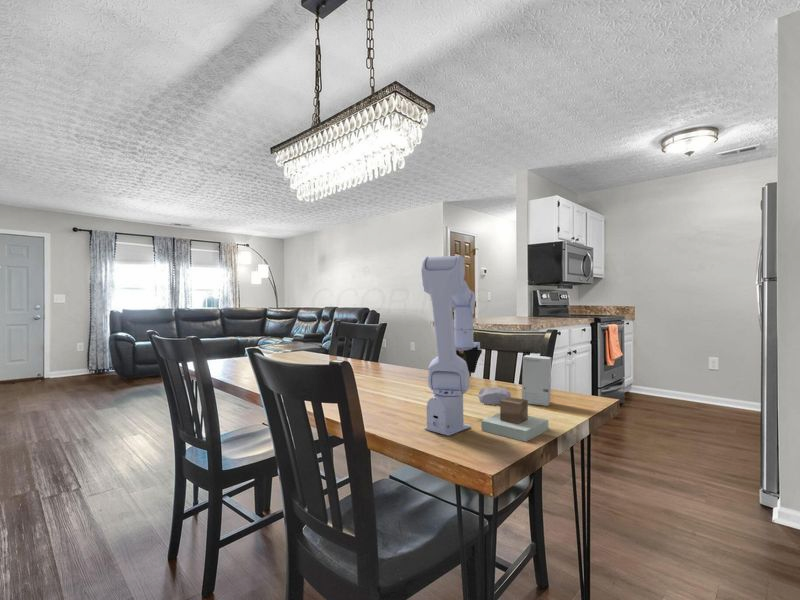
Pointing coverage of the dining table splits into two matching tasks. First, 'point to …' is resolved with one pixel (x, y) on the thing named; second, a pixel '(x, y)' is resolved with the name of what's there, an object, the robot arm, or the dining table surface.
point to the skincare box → (536, 379)
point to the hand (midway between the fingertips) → (464, 374)
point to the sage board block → (515, 427)
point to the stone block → (493, 395)
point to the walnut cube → (514, 410)
